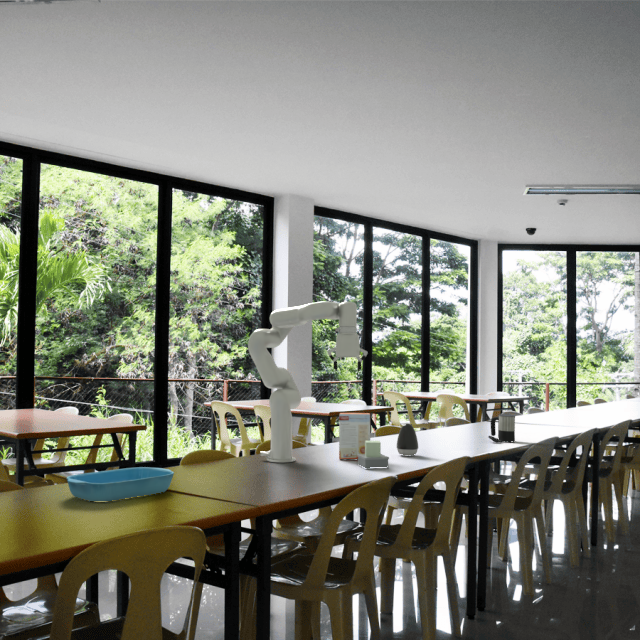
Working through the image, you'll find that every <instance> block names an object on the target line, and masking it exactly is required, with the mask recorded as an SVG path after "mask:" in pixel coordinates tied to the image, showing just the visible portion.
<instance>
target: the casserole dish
mask: <svg viewBox="0 0 640 640" xmlns="http://www.w3.org/2000/svg"><path fill="white" fill-rule="evenodd" d="M174 474H175V472H174V471H172V470H171V469H167V468H162V467H150V466H149V467H148V466H147V467H146V466H144V467H143V466H139V467H126V468H118V469H110V470H101V471H94V472H86V473H80V474H72V475H69V476H66V481H67V485H68V488H69V492H70V493H71V494H72V496H73V497H74V498H76V497H78V498H81V499H80V500H82V499H85V500H84V501H86V500H89V501H88V502H90V501H112V500H119V499H125V498H131V497H137V496H144V495H149V496H152V495H151V494H155V495H157V494H156V493H160V494H162V493H161V492H163V493H165V492H167V490H168V489H169V488H170V485H171V483H172V481H173V477H174ZM144 497H145V496H144ZM78 498H77V499H78Z"/></svg>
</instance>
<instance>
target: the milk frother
mask: <svg viewBox="0 0 640 640" xmlns="http://www.w3.org/2000/svg"><path fill="white" fill-rule="evenodd" d="M496 421H498V423H497V425H498V426H497V431H498V433H497V437H495V436H496ZM515 422H516V415H515V414H507V413H506V414H505V413H504V414H502V413H501V414H498V416H494V417H492V418H491V420H490V435H488V436H487V438H488V439H489V440H491V441H493V443H495V442H497V443H499V442H501V441H515V442H516V434H515V433H516V431H515V429H516V426H515V425H516V423H515ZM501 443H502V442H501Z"/></svg>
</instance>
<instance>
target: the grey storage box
mask: <svg viewBox="0 0 640 640" xmlns="http://www.w3.org/2000/svg"><path fill="white" fill-rule="evenodd" d="M357 456H358V460H357V465H358V464H359V465H361V466H363V467H365V468H370V467H387V466H388V467H389V460H390V457H389V456H387V455H384V454H382V453H381V455H380V457H366V456H365V454H357Z"/></svg>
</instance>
